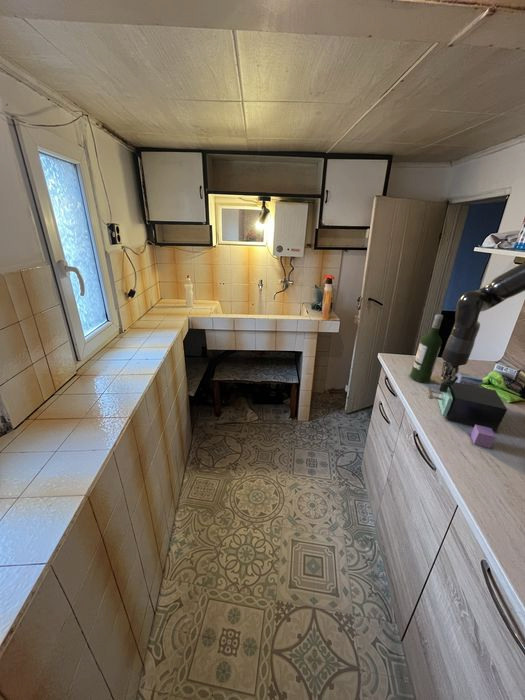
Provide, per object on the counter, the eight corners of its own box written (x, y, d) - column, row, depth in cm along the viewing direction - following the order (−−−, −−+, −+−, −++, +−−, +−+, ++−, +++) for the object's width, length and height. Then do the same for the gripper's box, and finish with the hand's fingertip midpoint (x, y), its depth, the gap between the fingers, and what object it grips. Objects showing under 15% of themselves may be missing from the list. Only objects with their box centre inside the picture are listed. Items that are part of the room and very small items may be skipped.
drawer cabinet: (447, 420, 100) (455, 398, 96) (441, 401, 111) (449, 380, 107) (496, 432, 95) (507, 409, 91) (485, 411, 106) (495, 390, 102)
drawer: (425, 412, 103) (432, 394, 100) (423, 396, 112) (428, 379, 109) (486, 426, 96) (495, 408, 93) (478, 408, 106) (485, 391, 103)
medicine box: (454, 394, 116) (461, 376, 112) (451, 389, 120) (457, 371, 116) (476, 398, 114) (483, 380, 110) (472, 393, 118) (479, 375, 114)
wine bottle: (407, 373, 131) (425, 311, 118) (424, 374, 131) (444, 312, 118) (414, 382, 124) (434, 317, 111) (432, 383, 124) (454, 318, 111)
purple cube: (486, 439, 92) (491, 428, 90) (490, 448, 88) (496, 437, 86) (470, 435, 94) (475, 424, 92) (473, 443, 90) (478, 432, 88)
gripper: (476, 358, 89) (457, 403, 96) (466, 343, 100) (450, 385, 107) (449, 353, 92) (433, 397, 99) (442, 339, 103) (428, 380, 110)
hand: (442, 391), depth 103 cm, fingers closed
